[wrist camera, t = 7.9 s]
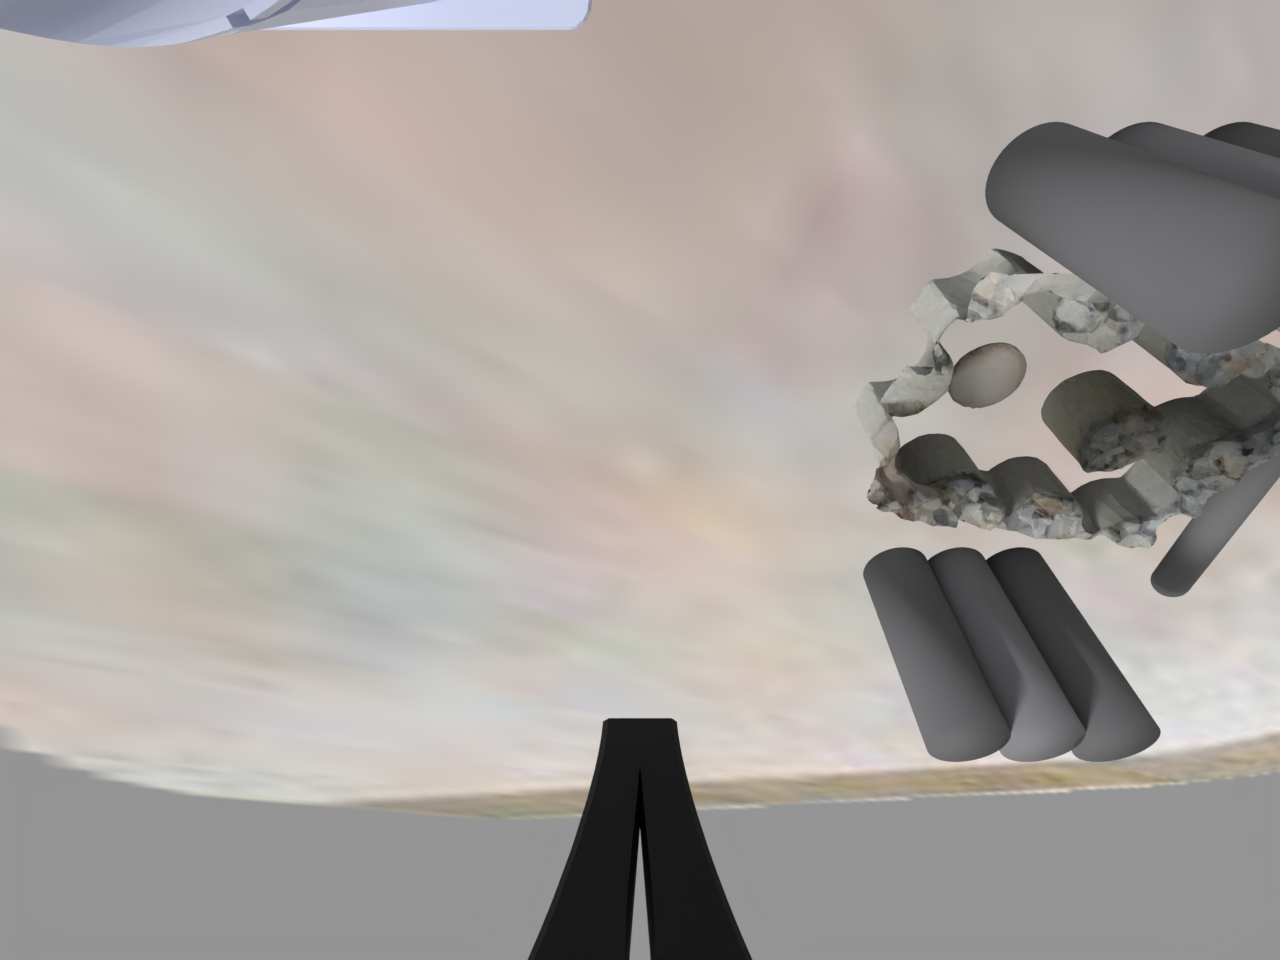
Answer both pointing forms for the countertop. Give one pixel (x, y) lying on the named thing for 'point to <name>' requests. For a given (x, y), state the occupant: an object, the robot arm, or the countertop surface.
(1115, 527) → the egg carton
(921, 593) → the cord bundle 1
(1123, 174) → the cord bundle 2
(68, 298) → the countertop surface
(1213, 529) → the dark grey rod
